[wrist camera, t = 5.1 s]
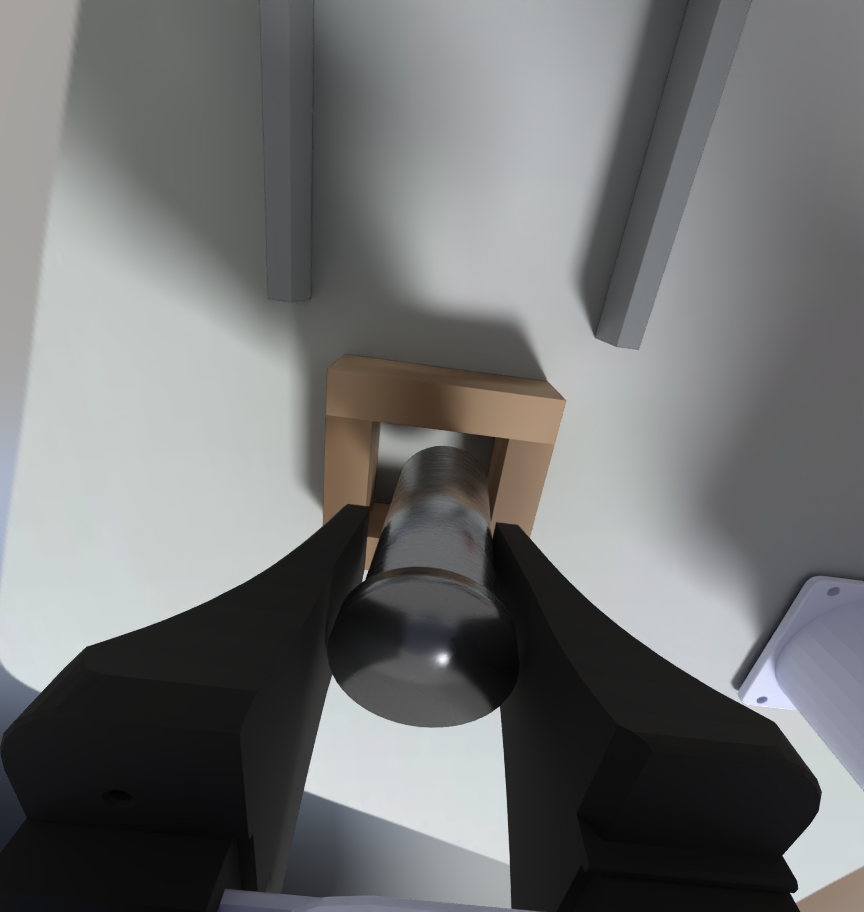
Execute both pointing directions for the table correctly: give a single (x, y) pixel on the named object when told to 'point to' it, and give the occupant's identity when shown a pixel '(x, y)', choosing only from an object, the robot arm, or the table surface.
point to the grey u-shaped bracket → (657, 194)
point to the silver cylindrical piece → (429, 604)
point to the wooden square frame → (444, 408)
